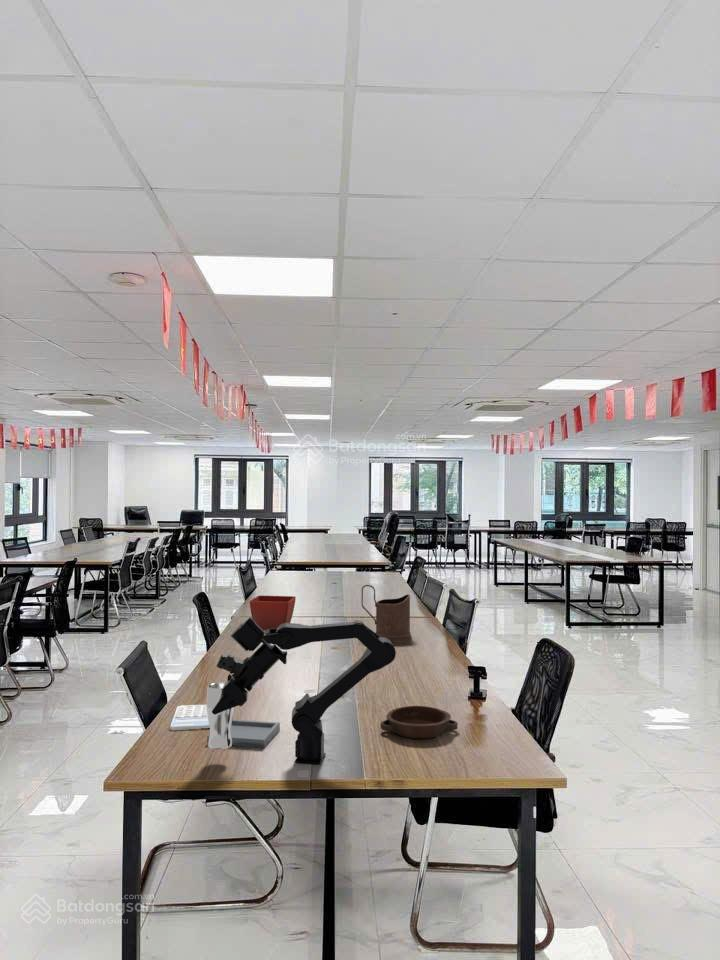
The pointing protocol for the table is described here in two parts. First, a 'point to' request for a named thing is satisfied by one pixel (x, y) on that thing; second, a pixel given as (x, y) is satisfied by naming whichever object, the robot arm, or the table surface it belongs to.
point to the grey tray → (252, 733)
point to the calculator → (190, 717)
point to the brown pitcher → (392, 618)
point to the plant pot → (272, 610)
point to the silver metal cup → (218, 719)
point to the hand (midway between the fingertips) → (214, 708)
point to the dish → (418, 722)
